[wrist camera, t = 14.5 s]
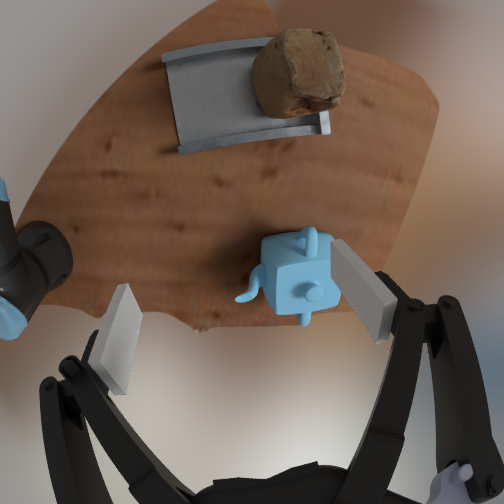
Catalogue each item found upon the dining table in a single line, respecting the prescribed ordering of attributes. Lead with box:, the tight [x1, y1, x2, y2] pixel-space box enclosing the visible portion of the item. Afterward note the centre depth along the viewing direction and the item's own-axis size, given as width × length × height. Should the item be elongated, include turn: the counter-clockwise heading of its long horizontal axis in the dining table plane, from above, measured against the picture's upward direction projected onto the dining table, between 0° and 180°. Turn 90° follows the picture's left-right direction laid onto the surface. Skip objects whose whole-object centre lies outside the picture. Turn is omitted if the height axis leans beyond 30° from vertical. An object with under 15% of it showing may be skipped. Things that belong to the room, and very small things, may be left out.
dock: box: [161, 37, 331, 156], centre depth 35 cm, size 25×17×10 cm
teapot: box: [235, 226, 341, 326], centre depth 49 cm, size 18×16×14 cm
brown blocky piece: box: [251, 28, 346, 119], centre depth 31 cm, size 11×8×20 cm
